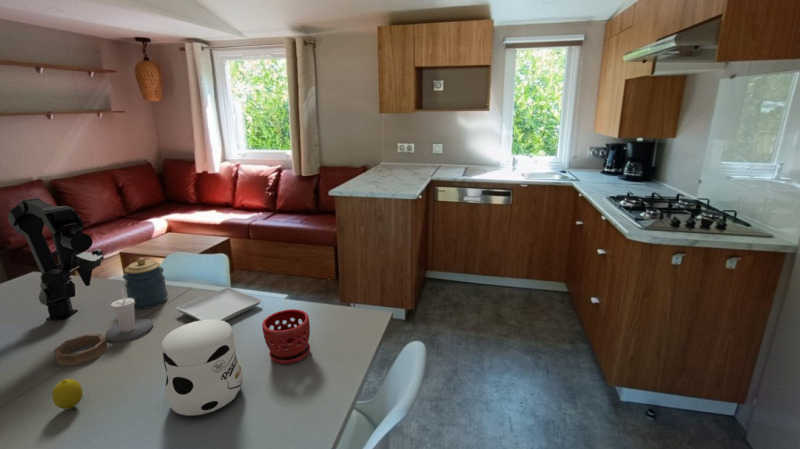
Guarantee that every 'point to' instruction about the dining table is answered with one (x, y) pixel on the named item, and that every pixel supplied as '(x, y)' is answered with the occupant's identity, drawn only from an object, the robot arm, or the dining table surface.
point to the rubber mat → (140, 329)
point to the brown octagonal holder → (84, 355)
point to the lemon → (67, 393)
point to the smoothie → (124, 312)
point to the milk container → (201, 367)
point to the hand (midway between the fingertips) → (78, 291)
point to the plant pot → (287, 336)
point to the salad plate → (219, 305)
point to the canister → (145, 283)
